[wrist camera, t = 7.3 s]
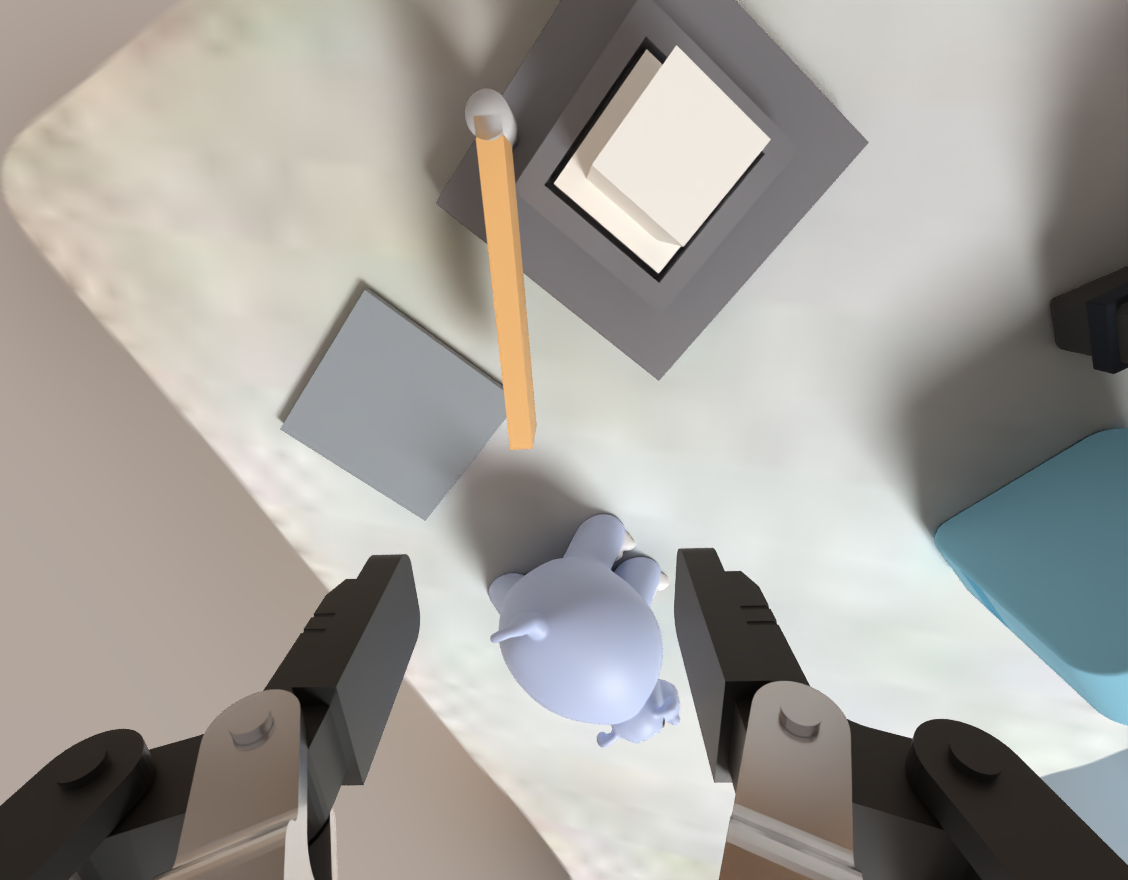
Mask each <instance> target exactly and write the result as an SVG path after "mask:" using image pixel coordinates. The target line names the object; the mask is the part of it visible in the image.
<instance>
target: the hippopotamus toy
mask: <svg viewBox="0 0 1128 880" xmlns="http://www.w3.org/2000/svg"><path fill="white" fill-rule="evenodd" d="M634 547H635V542H634V541H633V540H632V538H631V537H630V536H629V534H628V533H627V532H626V531H625V528H624V525H623V524H622V523H621V522H620V520H619V519H617V518H616V517H614V516H611V515H607V514H600V515H595V516H593V517H590V518H589V519H587V520H586V521H584V522H583V523H582V524H581V525H580V527H579V528H578V530H577V531H576V533H575V535H574V537H573V539H572V541H571V543H570V545H569V547H568V549H567V551H566V553H565V555H564V557H563V558H559V559H554V560H551V561H549V562H546V563H544V564H542V565H540V566H539V567H537V568H535V569H534V570H532V571H531V572H529V573H528V574H526V575H522V574H518V573H509V574H505V575H502V576H500V577H498V578H497V579H495V580H494V581H493V582H492V584H491V586H490V588H489V598H490V600H491V602H492V604H493V605H494V607H495V608H496V610H497V611H498V613H499V614H500V620H499V631H498V632H496V633H494V634H493V635H492V636H491V638H490V639H491V641H492V642H493V643H497V642H499V643H500V648H501V652H502V655H503V658H504V660H505V662H506V665H507V666H508V668H509V670H510V672H511V673H512V675H513V676H514V678H515V679H516V681H517V682H518V683H519V685H520V686H521V687H522V688H523V689H524V690H525V691H526V692H527V693H528V694H529V695H530V696H531V697H532V698H533V699H534V700H535V701H536V702H538V703H539V704H540V705H542V706H543V707H545V708H546V709H548V710H550V711H551V712H553V713H555V714H557V715H560V716H562V717H565V718H568V719H571V720H575V721H579V722H584V723H591V724H600V725H611V726H612V732H611V733H609V734H606V733H604V732H600V733H599V734H598V736H597V743H598V745H599V746H600V747H602V748H606V747H608V746H609V745H611V744H612V743H613V742H614V741H615V740H617V739H618V738H623V739H626V740H628V741H631V742H633V743H639V742H641V741H645V740H647V739H649V738H651V737H652V736H653V735H655V734H656V733H659V732H660V731H661V730H662V728H664V726H665V723H666V722H669V723H671V724H672V725H677V724H678V723H679V722H680V718H679V714H678V713H679V710H680V701H679V697H678V692H677V689H676V688H675V686H674V685H673V684H671V683H669V682H667V681H665V680H661V679H658V677H659V674H660V670H661V666H662V657H663V646H662V638H661V633H660V629H659V626H658V623H657V620H656V618H655V616H654V614H653V612H652V610H651V609H650V607H651V604H652V601H653V598H654V596H655V595H656V592H657V590H663V589H665V588H666V587H667V586H668V585H669V580H668V578H667V576H666V575H664V574H663V573H662V572H661V571H660V567H659V565H658V564H657V563H656V562H655V561H654V560H652V559H650V558H646V557H635V558H631V559H629V560H626V561H625V562H623V563H622V564H620V565H619V566H618V567H617V569H616V570H615V572H613V571H611V568H612V566H613V564H614V562H615V561H617V560H619V559H620V558H621V557H622V556H623V551H624V550H631V549H633V548H634Z"/></svg>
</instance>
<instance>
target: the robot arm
mask: <svg viewBox="0 0 1128 880" xmlns="http://www.w3.org/2000/svg"><path fill="white" fill-rule="evenodd" d="M674 617H675V627H676V633H677V638H678V642H679V646H680V650H681V654H682V658H683V661H684V665H685V669H686V673H687V677H688V681H689V685H690V689H691V693H692V697H693V701H694V705H695V709H696V713H697V717H698V720H699V724H700V728H701V732H702V736H703V740H704V744H705V748H706V752H707V756H708V760H709V764H710V768H711V772H712V776H713V779H714V783H717V782H732V783H733V786H734V790H735V793H736V795H735V801H734V806H733V812H732V816H731V817H730V822H729V827H728V832H727V838H726V843H725V849H724V854H723V860H722V865H721V871H720V876H719V880H1128V865H1127V864H1126V863H1125V862H1124V861H1123V860H1122V859H1121V858H1120V857H1119V856H1118V855H1117V854H1116V853H1115V852H1114V851H1113V850H1112V849H1111V848H1110V847H1109V846H1108V845H1107V844H1106V843H1105V842H1104V841H1103V840H1102V839H1101V838H1100V837H1099V836H1098V835H1097V834H1096V833H1095V832H1094V831H1093V830H1092V829H1091V828H1090V827H1089V826H1088V825H1087V824H1086V823H1085V822H1084V821H1083V820H1082V819H1081V818H1080V817H1079V816H1078V815H1077V814H1076V813H1075V812H1074V811H1073V810H1072V809H1071V808H1070V807H1069V806H1068V805H1067V804H1066V803H1065V802H1064V801H1063V800H1061V798H1059V797H1058V795H1057V794H1056V793H1055V792H1054V791H1053V790H1052V789H1050V787H1049V786H1048V785H1046V783H1044V781H1043V780H1042V779H1041V778H1040V777H1039V776H1038V775H1037V774H1036V773H1035V772H1034V771H1033V770H1032V769H1031V768H1030V767H1029V766H1028V765H1027V764H1026V763H1025V762H1024V761H1023V760H1022V759H1021V758H1020V757H1019V756H1018V755H1016V754H1015V753H1014V752H1013V751H1012V750H1011V749H1010V748H1009V747H1007V746H1006V745H1005V744H1003V743H1002V742H1001V741H1000V740H998V739H996V738H995V737H993V736H992V735H990V734H988V733H986V732H984V731H983V730H981V729H979V728H976V727H974V726H971V725H969V724H966V723H963V722H959V721H954V720H949V719H933V720H929V721H926V722H924V723H922V724H921V725H920V726H919V727H918V728H917V729H916V731H915V733H914V736H913V739H912V738H908V737H904V736H900V735H896V734H892V733H888V732H884V731H881V730H877V729H873V728H869V727H866V726H863V725H860V724H857V723H855V722H852V721H850V720H848V719H846V717H845V715H844V713H843V712H842V711H841V709H840V708H839V707H838V706H837V705H836V704H835V703H834V702H833V701H832V700H831V699H830V698H828V697H827V696H826V695H824V694H823V693H821V692H820V691H818V690H816V689H814V688H812V687H810V685H809V683H808V681H807V679H806V677H805V675H804V673H803V671H802V670H801V668H800V666H799V664H798V662H797V660H796V658H795V656H794V654H793V652H792V650H791V648H790V646H789V644H788V642H787V640H786V638H785V636H784V634H783V632H782V631H781V629H780V627H779V625H777V622H776V619H775V617H774V615H773V613H772V611H771V609H769V605H768V603H767V601H766V599H765V597H764V595H763V593H762V592H761V590H760V588H759V586H758V585H756V584H755V583H754V582H753V581H752V580H751V579H750V578H748V577H747V576H746V575H745V574H744V573H743V572H741V571H724V569H723V566H722V564H721V562H720V559H719V557H718V555H717V553H716V551H715V549H714V548H686V549H678V552H677V563H676V581H675V600H674ZM419 627H420V610H419V604H418V599H417V593H416V588H415V582H414V577H413V571H412V565H411V561H410V558H409V556H408V555H406V554H402V555H372V556H371V557H370V558H369V559H368V561H367V562H366V564H365V566H364V567H363V569H362V571H361V572H360V574H359V576H358V577H357V579H346V580H344V581H343V582H342V583H341V584H339V585H338V586H337V587H336V588H334V589H333V590H332V591H331V592H329V593H328V594H327V595H326V596H325V598H324V599H323V601H322V602H321V604H320V605H319V607H318V608H317V610H316V611H315V613H314V617H313V618H311V619H310V620H309V622H308V623H307V625H306V627H305V628H304V632H303V633H301V634H300V636H299V637H298V639H297V640H296V642H295V643H294V645H293V646H292V648H291V650H290V651H289V653H288V654H287V655H286V657H285V659H284V660H283V662H282V663H281V665H280V666H279V668H278V669H277V671H276V672H275V674H274V675H273V677H272V678H271V680H270V681H269V683H268V685H267V686H266V687H265V689H264V690H263V691H261V692H257V693H254V694H252V695H249V696H247V697H245V698H243V699H241V700H239V701H237V702H235V703H234V704H232V705H231V706H229V707H228V708H227V709H225V710H224V711H223V712H222V713H221V714H220V715H219V716H217V717H216V718H215V720H214V721H213V722H212V723H211V724H210V726H209V727H208V728H207V730H206V732H205V734H202V735H199V736H196V737H192V738H189V739H186V740H182V741H178V742H175V743H171V744H168V745H164V746H161V747H157V748H154V749H150V750H148V748H147V746H146V744H145V741H144V740H143V738H142V736H141V735H140V734H139V733H138V732H136V731H134V730H130V729H116V730H110V731H106V732H103V733H100V734H97V735H94V736H92V737H89V738H88V739H85V740H83V741H81V742H79V743H77V744H75V745H73V746H72V747H70V748H69V749H67V750H65V751H64V752H63V753H61V754H60V755H58V756H57V757H55V758H54V759H53V760H52V761H50V762H49V763H48V764H47V765H46V766H45V767H43V768H42V769H41V770H40V771H39V772H38V773H37V774H36V775H34V777H32V778H31V779H30V780H29V781H28V782H27V783H26V784H25V785H23V786H22V787H21V788H20V789H19V790H18V791H17V792H15V793H14V794H13V795H12V796H11V797H10V798H9V799H8V800H6V801H5V802H4V803H3V804H2V805H1V806H0V880H338V868H337V845H336V820H335V813H334V810H333V804H334V802H335V799H336V797H337V794H338V792H339V789H340V787H341V785H364V782H365V780H366V777H367V774H368V771H369V769H370V766H371V763H372V760H373V758H374V755H375V753H376V750H377V747H378V744H379V742H380V739H381V736H382V733H383V731H384V728H385V725H386V723H387V720H388V717H389V715H390V711H391V709H392V706H393V704H394V701H395V698H396V695H397V693H398V690H399V687H400V685H401V682H402V679H403V677H404V674H405V671H406V669H407V666H408V663H409V660H410V658H411V655H412V652H413V650H414V647H415V644H416V641H417V638H418V634H419Z"/></svg>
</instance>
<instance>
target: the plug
mask: <svg viewBox="0 0 1128 880" xmlns="http://www.w3.org/2000/svg"><path fill="white" fill-rule="evenodd" d="M770 140H771V139H770V138H769V137H768V136H767V135H766V134H765V133H764V132H763V131H762V130H761V129H760V128H759V127H758V126H757V125H756V124H755V123H754V122H753V121H752V120H751V119H750V118H749V117H748V116H747V115H746V114H745V113H744V112H743V111H742V110H741V109H740V108H739V107H738V106H737V105H736V104H735V103H734V102H733V101H732V100H731V99H730V98H729V97H728V96H727V95H726V94H725V93H724V92H723V91H722V90H721V89H720V88H719V87H718V86H717V85H716V84H715V83H714V82H713V81H712V80H711V79H710V78H709V77H708V76H707V75H706V74H705V73H704V72H703V71H702V70H701V69H700V68H699V67H698V66H697V65H696V64H695V63H694V62H693V61H692V60H691V59H690V58H689V57H688V56H687V55H686V54H685V53H684V52H683V51H682V50H681V49H680V48H679V47H678V46H677V45H676V47H675V48H674V49H673V51H672V52H671V54H670V55H669V56H668V58H667V59H666V61H665V62H664V64H663V65H662V64H661V63H660V62H659V61H658V60H657V59H656V58H655V57H654V56H653V55H652V54H651V53H650V52H649V51H648V50H647V49H646V51H645V52H644V54H643V55H642V57H641V58H640V60H639V61H638V63H637V64H636V65H635V67H634V68H633V70H632V71H631V73H630V74H629V76H628V77H627V78H626V80H625V81H624V83H623V84H622V86H621V87H620V89H619V90H618V91H617V93H616V94H615V96H614V97H613V99H612V100H611V102H610V103H609V104H608V106H607V107H606V109H605V110H604V112H603V113H602V115H601V116H600V117H599V119H598V120H597V122H596V123H595V125H594V126H593V128H592V129H591V130H590V132H589V133H588V135H587V136H586V138H585V139H584V141H583V142H582V143H581V145H580V146H579V148H578V149H577V151H576V152H575V154H574V155H573V156H572V158H571V159H570V161H569V162H568V164H567V165H566V167H565V168H564V169H563V171H562V172H561V174H560V175H559V177H558V178H557V180H556V181H555V182H554V185H555V187H556V188H558V189H559V190H560V191H561V192H562V193H563V194H565V195H566V196H567V197H568V198H569V199H570V200H572V201H573V202H574V203H575V204H576V205H577V206H579V207H580V208H581V209H582V210H583V211H584V212H586V213H587V214H588V215H589V216H590V217H591V218H593V219H594V220H595V221H596V222H597V223H598V224H600V225H601V226H602V227H603V228H604V229H605V230H607V231H608V232H609V233H610V234H611V235H612V236H614V237H615V238H616V239H617V240H618V241H619V242H621V243H622V244H623V245H624V246H625V247H626V248H628V249H629V250H630V251H631V252H632V253H633V254H635V255H636V256H637V257H638V258H639V259H640V260H642V261H643V262H644V263H645V264H646V265H647V266H649V267H650V268H651V269H652V270H654V271H655V272H657V273H660V271H661V270H662V269H663V268H664V266H665V265H666V264H667V263H668V262H669V260H670V259H671V258H672V257H673V255H674V254H675V253H676V252H677V250H678V249H679V248H680V247H681V246H683V247H684V246H685V244H686V243H687V242H688V241H689V239H690V238H691V237H692V236H693V234H694V233H695V232H696V231H697V230H698V228H699V227H700V226H701V225H702V223H703V222H704V221H705V220H706V219H707V217H708V216H709V215H710V214H711V212H712V211H713V210H714V209H715V207H716V206H717V205H718V204H719V203H720V201H721V200H722V199H723V198H724V196H725V195H726V194H727V193H728V192H729V190H730V189H731V188H732V187H733V185H734V184H735V183H736V182H737V181H738V179H739V178H740V177H741V176H742V174H743V173H744V172H745V171H746V169H747V168H748V167H749V166H750V165H751V163H752V162H753V161H754V160H755V158H756V157H757V156H758V155H759V154H760V152H761V151H762V150H763V149H764V147H765V146H766V145H767V144H768V142H769V141H770Z"/></svg>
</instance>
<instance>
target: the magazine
mask: <svg viewBox="0 0 1128 880" xmlns="http://www.w3.org/2000/svg"><path fill="white" fill-rule="evenodd" d="M1050 305H1051V311H1052V318H1053V325H1054V332H1055V339H1056V345H1057V346H1058V347H1059V348H1060V349H1063V350H1067V351H1072V352H1076V353H1081V354H1085V355H1090V356H1092V361H1093V368H1094V369H1096V370H1100V371H1104V372H1108V373H1112V374H1115V373H1117V372H1120V371H1122V370H1124V369H1126V368H1128V267H1126V268H1123V269H1121V270H1119V271H1116V272H1114V273H1112V274H1109V275H1107V276H1105V277H1102V278H1100V279H1098V280H1095V281H1093V282H1091V283H1088V284H1086V285H1084V286H1081V287H1079V288H1077V289H1074V290H1072V291H1070V292H1067V293H1065V294H1063V295H1060V296H1058V297H1056V298H1054V299H1053V300H1052V301H1051V304H1050Z"/></svg>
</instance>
